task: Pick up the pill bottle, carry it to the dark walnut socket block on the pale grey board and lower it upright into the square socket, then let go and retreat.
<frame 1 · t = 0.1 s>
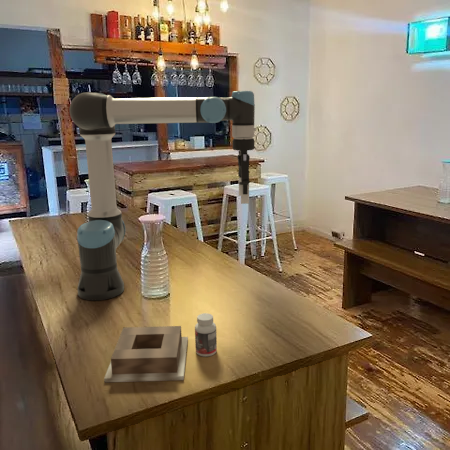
hand: (243, 199, 159), 28 cm above the table, fingers open, 13 cm apart
pill bottle: (206, 352, 115), on the table
socket block: (149, 359, 112), on the table
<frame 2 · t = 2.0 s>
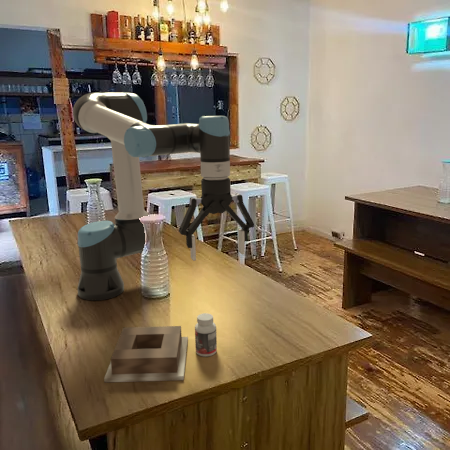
hand: (217, 256, 122), 21 cm above the table, fingers open, 13 cm apart
nothing on the table moved.
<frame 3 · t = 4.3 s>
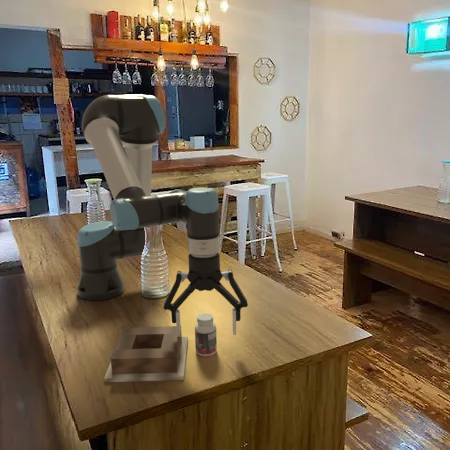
hand: (206, 333, 113), 5 cm above the table, fingers open, 13 cm apart
nothing on the table moved.
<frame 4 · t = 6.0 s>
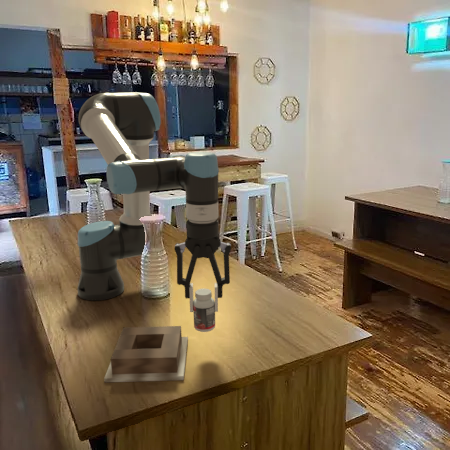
hand: (204, 309, 112), 12 cm above the table, fingers closed on pill bottle, 5 cm apart
pill bottle: (204, 328, 114), point 6 cm above the table, touching gripper
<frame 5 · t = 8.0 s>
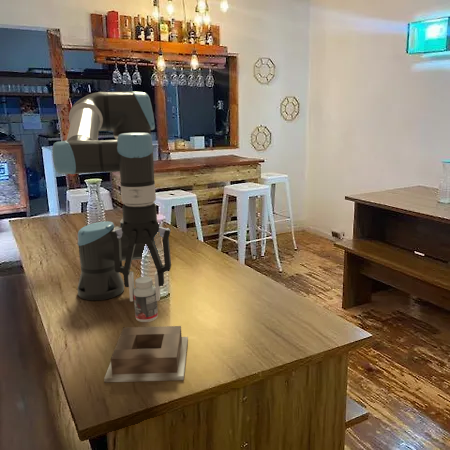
hand: (145, 298, 107), 16 cm above the table, fingers closed on pill bottle, 5 cm apart
pill bottle: (147, 318, 108), point 11 cm above the table, touching gripper
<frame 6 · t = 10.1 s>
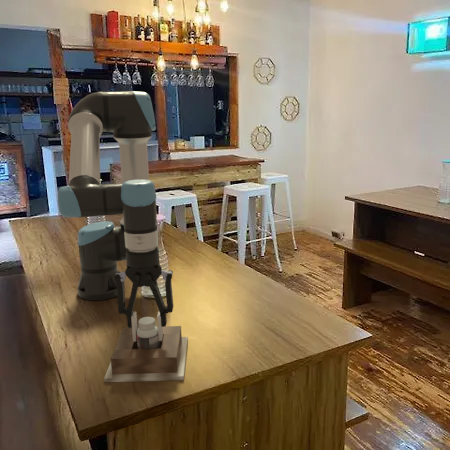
hand: (148, 338, 110), 6 cm above the table, fingers closed on pill bottle, 5 cm apart
pill bottle: (149, 357, 111), point 1 cm above the table, touching gripper, socket block
when the fingers open (6 cm above the table, at t = 10.1 s): pill bottle stays where it is, resting on socket block.
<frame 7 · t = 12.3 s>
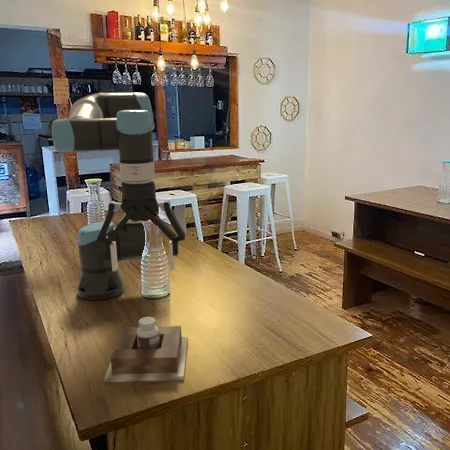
hand: (143, 268, 108), 23 cm above the table, fingers open, 13 cm apart
pill bottle: (149, 357, 111), point 1 cm above the table, touching socket block
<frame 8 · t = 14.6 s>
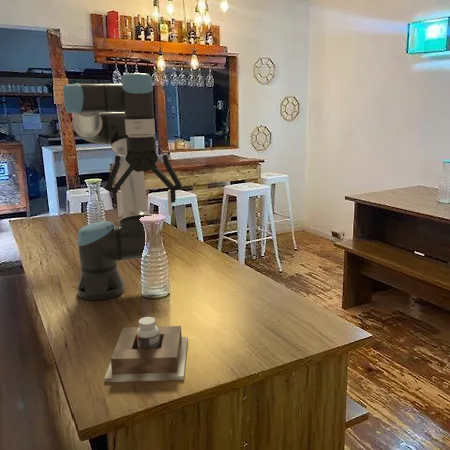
hand: (145, 214, 124), 32 cm above the table, fingers open, 13 cm apart
nothing on the table moved.
at the end: pill bottle 0.2 cm off-centre on the socket block, point 0.8 cm above the socket block's base; pill bottle tilted 0°; the gripper is holding nothing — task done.
